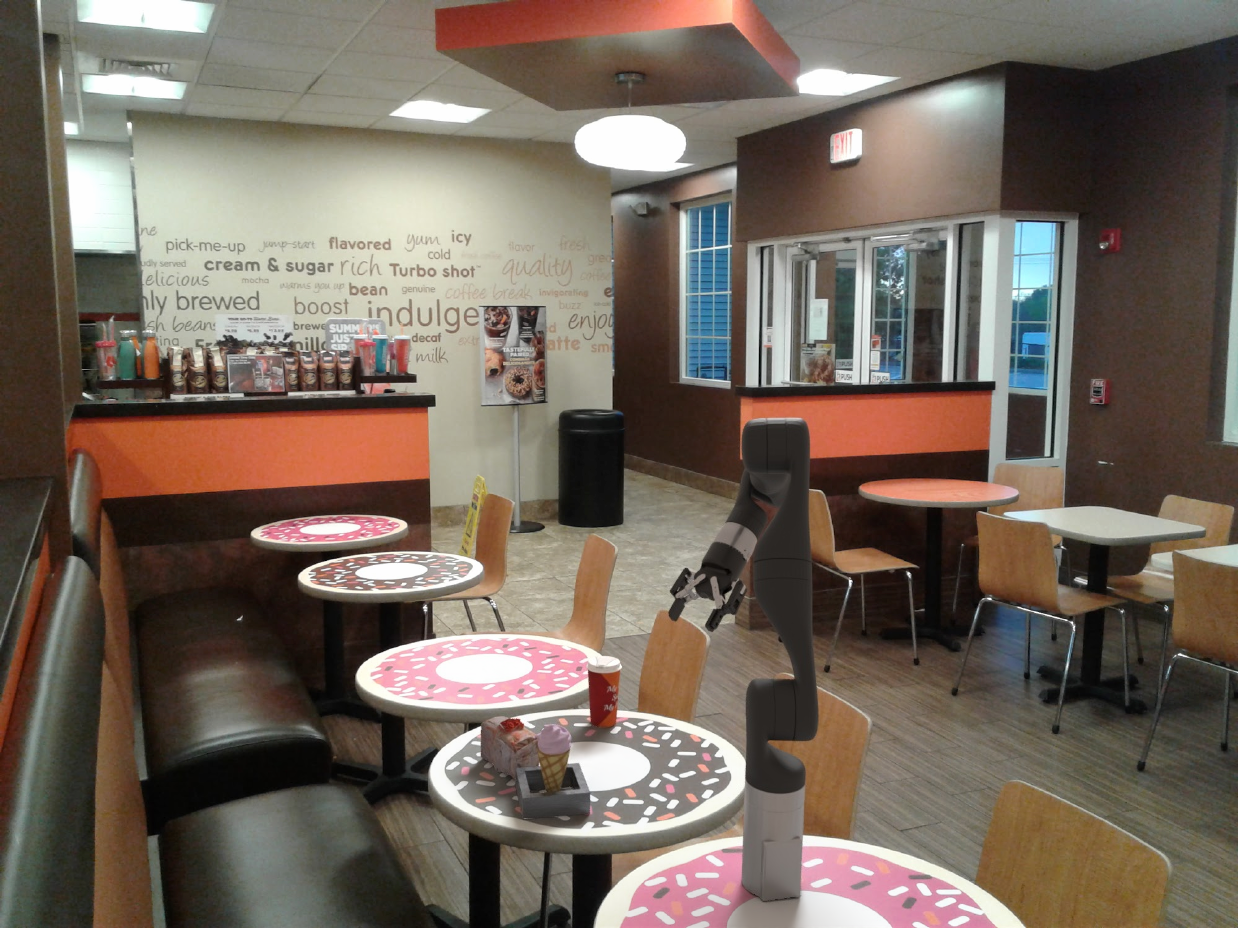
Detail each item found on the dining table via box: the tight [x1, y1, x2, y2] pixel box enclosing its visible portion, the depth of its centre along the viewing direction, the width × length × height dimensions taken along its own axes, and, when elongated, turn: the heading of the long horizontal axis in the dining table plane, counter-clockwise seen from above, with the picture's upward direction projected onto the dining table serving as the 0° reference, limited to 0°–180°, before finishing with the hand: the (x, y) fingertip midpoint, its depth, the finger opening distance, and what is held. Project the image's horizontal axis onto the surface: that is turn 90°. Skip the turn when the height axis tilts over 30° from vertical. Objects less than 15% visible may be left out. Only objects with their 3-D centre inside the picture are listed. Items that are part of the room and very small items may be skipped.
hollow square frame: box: [515, 762, 591, 819], centre depth 182 cm, size 12×12×4 cm
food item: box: [480, 715, 540, 779], centre depth 195 cm, size 14×8×10 cm, turn 41°
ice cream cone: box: [533, 723, 572, 792], centre depth 181 cm, size 7×6×15 cm
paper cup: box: [585, 655, 623, 728], centre depth 216 cm, size 8×8×14 cm
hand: (689, 624), depth 181 cm, fingers open, 8 cm apart
